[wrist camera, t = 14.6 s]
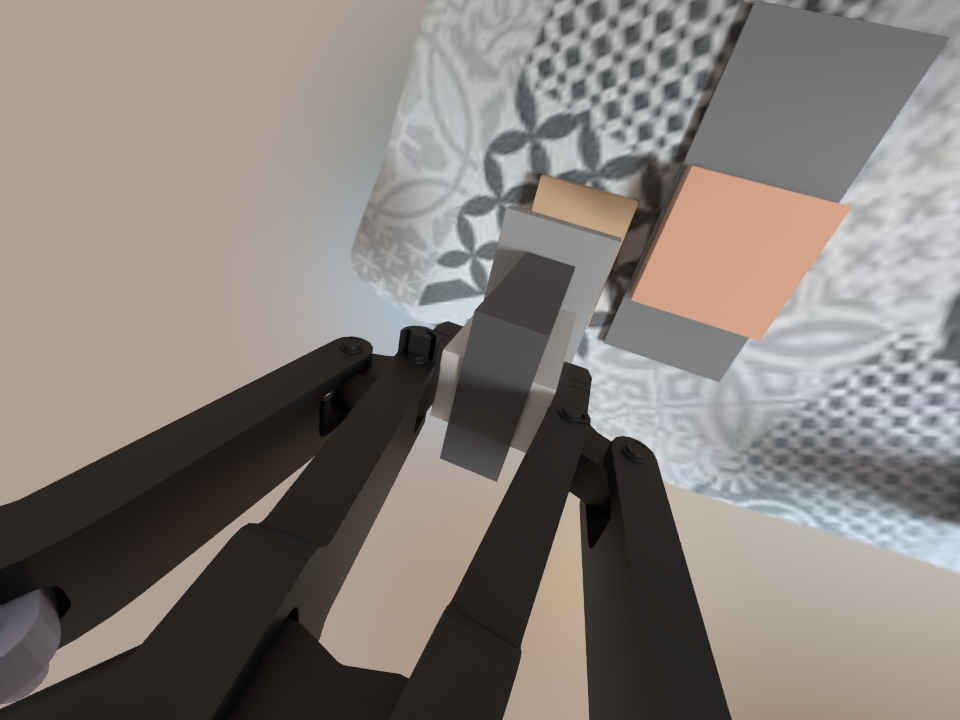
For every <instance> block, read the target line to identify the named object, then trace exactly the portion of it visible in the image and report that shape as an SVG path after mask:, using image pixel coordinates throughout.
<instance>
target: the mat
mask: <svg viewBox="0 0 960 720" xmlns="http://www.w3.org/2000/svg"><path fill="white" fill-rule="evenodd" d="M948 39H949V37H945V36H940V35H934V34H929V33H924V32H918V31H913V30H908V29H903V28H897V27H892V26H887V25H881V24H876V23H871V22H866V21H860V20H855V19H850V18H844V17H839V16H834V15H829V14H823V13H818V12H813V11H807V10H802V9H797V8H792V7H786V6H781V5H776V4H770V3H765V2H760V1H755V2H754V3H753V5H752V7H751V10H750V12H749V14H748V16H747V19H746V21H745V23H744V25H743V28H742V30H741V32H740V34H739V37H738V39H737V41H736V43H735V46H734V48H733V50H732V52H731V55H730V57H729V59H728V61H727V64H726V66H725V68H724V70H723V73H722V75H721V77H720V79H719V82H718V84H717V86H716V88H715V91H714V93H713V95H712V97H711V100H710V102H709V104H708V107H707V109H706V111H705V113H704V116H703V118H702V120H701V122H700V125H699V127H698V129H697V131H696V134H695V136H694V138H693V140H692V143H691V145H690V147H689V149H688V152H687V154H686V156H685V158H684V161H683V163H682V165H681V167H680V170H679V172H678V174H677V176H676V179H675V181H674V183H673V185H672V188H671V190H670V192H669V194H668V197H667V199H666V201H665V203H664V206H663V208H662V210H661V212H660V215H659V217H658V219H657V221H656V224H655V226H654V228H653V230H652V233H651V235H650V237H649V240H648V242H647V244H646V246H645V249H644V251H643V253H642V255H641V258H640V260H639V262H638V264H637V267H636V269H635V271H634V273H633V276H632V278H631V280H630V282H629V285H628V287H627V289H626V291H625V294H624V296H623V298H622V300H621V303H620V305H619V307H618V309H617V312H616V314H615V316H614V318H613V321H612V323H611V325H610V327H609V330H608V332H607V334H606V336H605V339H604V343H605V344H608V345H611V346H614V347H617V348H620V349H623V350H626V351H629V352H632V353H635V354H638V355H641V356H644V357H647V358H649V359H652V360H655V361H658V362H661V363H664V364H667V365H670V366H673V367H676V368H679V369H682V370H685V371H688V372H691V373H694V374H697V375H700V376H703V377H706V378H709V379H712V380H715V381H718V382H720V380H721V379H722V377H723V376H724V374H725V373H726V371H727V370H728V368H729V367H730V365H731V364H732V362H733V361H734V359H735V358H736V356H737V355H738V353H739V352H740V350H741V349H742V347H743V346H744V344H745V343H746V341H747V340H748V338H749V337H745V336H742V335H739V334H736V333H733V332H730V331H727V330H723V329H720V328H717V327H714V326H711V325H708V324H704V323H701V322H698V321H695V320H692V319H689V318H685V317H682V316H679V315H676V314H673V313H670V312H667V311H663V310H660V309H657V308H654V307H651V306H648V305H644V304H641V303H638V302H635V301H632V300H631V295H630V291H631V289H632V287H633V285H634V282H635V280H636V278H637V276H638V274H639V271H640V269H641V267H642V265H643V262H644V260H645V258H646V256H647V254H648V251H649V249H650V247H651V245H652V243H653V240H654V238H655V236H656V234H657V231H658V229H659V227H660V225H661V223H662V220H663V218H664V216H665V214H666V211H667V209H668V207H669V205H670V203H671V200H672V198H673V196H674V194H675V191H676V189H677V187H678V185H679V183H680V180H681V178H682V176H683V174H684V172H685V169H686V167H687V165H691V166H695V167H699V168H703V169H707V170H711V171H715V172H719V173H722V174H726V175H730V176H734V177H738V178H742V179H746V180H750V181H753V182H757V183H761V184H765V185H769V186H773V187H777V188H781V189H785V190H788V191H792V192H796V193H800V194H804V195H808V196H812V197H816V198H820V199H823V200H827V201H831V202H835V203H839V202H840V201H841V199H842V198H843V196H844V195H845V193H846V192H847V190H848V189H849V187H850V186H851V184H852V183H853V181H854V180H855V178H856V177H857V175H858V174H859V172H860V171H861V169H862V168H863V166H864V165H865V163H866V162H867V160H868V159H869V157H870V156H871V154H872V153H873V151H874V150H875V148H876V147H877V145H878V144H879V142H880V141H881V139H882V138H883V136H884V135H885V133H886V132H887V130H888V129H889V127H890V126H891V124H892V123H893V121H894V120H895V118H896V117H897V115H898V114H899V112H900V111H901V109H902V108H903V106H904V105H905V103H906V102H907V100H908V99H909V97H910V96H911V94H912V93H913V91H914V90H915V88H916V87H917V85H918V84H919V82H920V81H921V79H922V78H923V76H924V75H925V73H926V72H927V70H928V69H929V67H930V66H931V64H932V63H933V61H934V60H935V58H936V57H937V55H938V54H939V52H940V51H941V49H942V48H943V46H944V45H945V43H946V42H947V40H948Z"/></svg>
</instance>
